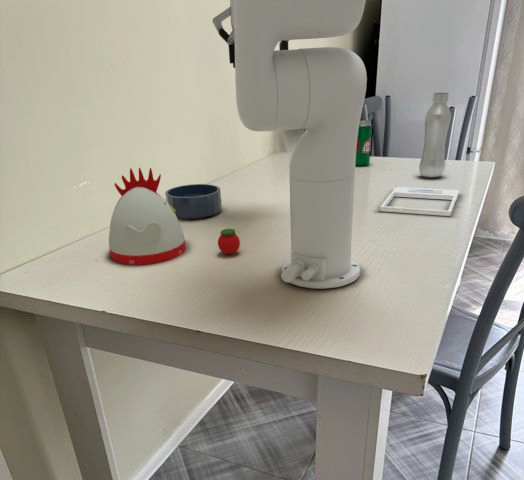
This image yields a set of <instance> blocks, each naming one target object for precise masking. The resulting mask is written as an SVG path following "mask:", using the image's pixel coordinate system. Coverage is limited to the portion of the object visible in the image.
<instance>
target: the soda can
mask: <svg viewBox="0 0 524 480" xmlns="http://www.w3.org/2000/svg"><path fill="white" fill-rule="evenodd" d="M372 128H373V125H372V121H371V120H366V119H365V120H363V119H361V120H360V123H359V130H358V137H357V147H356V162H355V167H367V166H369V164H370V161H371V148H372V147H371V145H372V131H373V130H372Z"/></svg>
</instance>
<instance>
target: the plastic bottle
mask: <svg viewBox="0 0 524 480" xmlns="http://www.w3.org/2000/svg"><path fill="white" fill-rule="evenodd" d="M431 102H432V104H431V106H430V107H429V108H428V110H427V111H426V112H425V115H424V141H423V142H424V143H423V149H422V154H421V159H420V161H419V166H418V169H419V170H418V171H419V174H420V176H422V177H424V178H429V179H431V178H437V177H441V176H442V175H443V174H444V172H445V168H446V160H445V159H446V158H445V156H446V155H445V154H446V142H447V137H448V131H449V127H450V124H451V120H452V113H451V110H450V107H449V106H448V104H447V103H448V102H449V92H435V93H434V92H433V94H432V99H431Z"/></svg>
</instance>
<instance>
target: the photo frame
mask: <svg viewBox="0 0 524 480" xmlns="http://www.w3.org/2000/svg"><path fill="white" fill-rule="evenodd" d="M459 195H460V190H459V189H445V188H444V189H442V188H427V187H425V188H424V187H409V186H407V187H406V186H395V187H394V189H393V190H392V191H391V192H390V194H388V196H387V197H386V199H384V201H383V202H382V203H381V204H380V206H379V212H390V213H399V214H401V213H402V214H417V215H429V216H443V217H444V216H445V217H451V216H452V212H453V210H454V207H455V204H456V202H457V200H458V197H459ZM394 197H398V198H399V197H401V198H415V199H431V200H446V201H447V200H448V201H451V202H450V204H449V206H448V209H447V210H445V209H431V208H430V209H429V208H417V207H404V206H403V207H402V206H388V205H389V204H390V203H391V201H392V200H393V198H394Z"/></svg>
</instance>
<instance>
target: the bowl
mask: <svg viewBox="0 0 524 480" xmlns="http://www.w3.org/2000/svg"><path fill="white" fill-rule="evenodd" d="M221 193H222V192H221V188H220V186H218V185H215V184H208V183H194V184H192V183H191V184H184V185H179V186H174V187H172V188H169V189H167V190H166V191H165V193H164V196H165V200H166V201H167V202H168V204H169V205H170V206H171V207H173V208H174V209H175V210H176V211H175V214H176V217H177V219H182V220H199V219H205V218H206V219H207V218H209V217H213V216H215V215H216V214H217V213H220V212H221V211H222V210H223V209H222V208H223V207H222V206H223V205H222V195H221Z"/></svg>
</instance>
